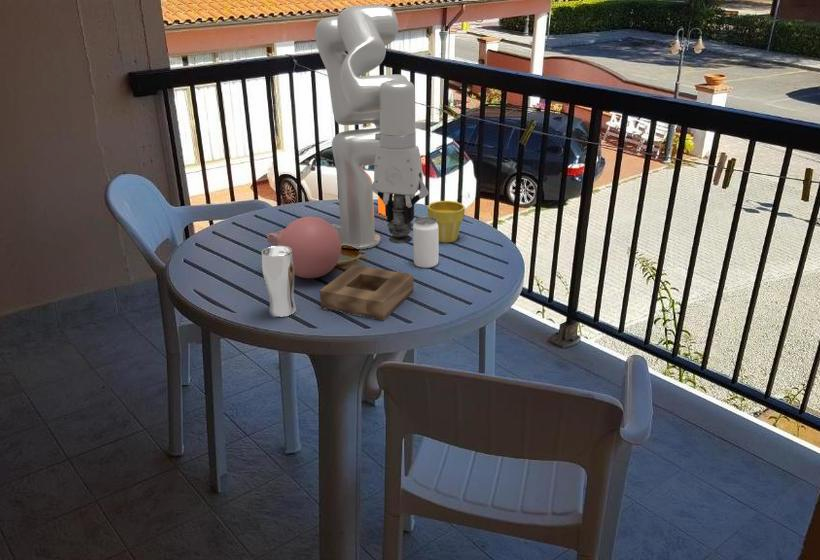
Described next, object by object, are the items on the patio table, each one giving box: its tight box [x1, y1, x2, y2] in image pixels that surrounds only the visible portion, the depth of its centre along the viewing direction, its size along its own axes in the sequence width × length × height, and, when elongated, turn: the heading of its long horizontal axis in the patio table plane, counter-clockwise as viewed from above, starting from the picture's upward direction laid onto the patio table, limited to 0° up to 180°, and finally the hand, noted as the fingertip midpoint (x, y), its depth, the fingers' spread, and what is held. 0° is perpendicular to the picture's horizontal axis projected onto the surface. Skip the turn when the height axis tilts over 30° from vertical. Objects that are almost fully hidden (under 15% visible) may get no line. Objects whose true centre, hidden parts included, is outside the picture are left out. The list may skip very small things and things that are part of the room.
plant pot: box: [427, 200, 466, 243], centre depth 194 cm, size 10×10×10 cm
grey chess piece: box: [386, 194, 414, 245], centre depth 154 cm, size 6×6×12 cm
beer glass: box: [261, 245, 297, 317], centre depth 153 cm, size 7×7×15 cm
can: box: [412, 216, 440, 269], centre depth 177 cm, size 6×6×12 cm
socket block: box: [319, 264, 414, 322], centre depth 160 cm, size 16×16×4 cm
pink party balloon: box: [266, 216, 342, 279], centre depth 172 cm, size 15×20×15 cm
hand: (399, 220), depth 155 cm, fingers closed on grey chess piece, 3 cm apart
